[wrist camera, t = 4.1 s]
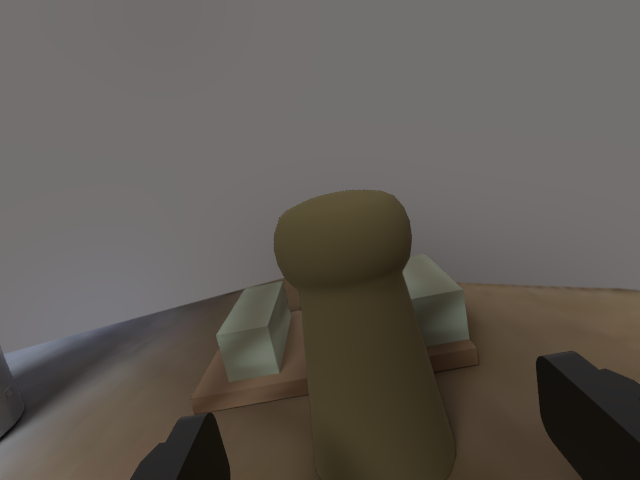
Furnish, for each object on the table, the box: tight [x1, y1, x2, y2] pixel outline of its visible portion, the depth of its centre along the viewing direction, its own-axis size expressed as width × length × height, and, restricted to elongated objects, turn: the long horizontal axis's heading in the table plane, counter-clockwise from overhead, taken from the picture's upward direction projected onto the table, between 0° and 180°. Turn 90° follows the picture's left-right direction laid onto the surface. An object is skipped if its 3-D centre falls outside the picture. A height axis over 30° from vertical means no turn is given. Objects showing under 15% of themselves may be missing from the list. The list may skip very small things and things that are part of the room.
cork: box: [274, 190, 456, 480], centre depth 15 cm, size 6×6×11 cm
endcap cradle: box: [190, 254, 479, 414], centre depth 25 cm, size 16×10×4 cm, turn 89°
